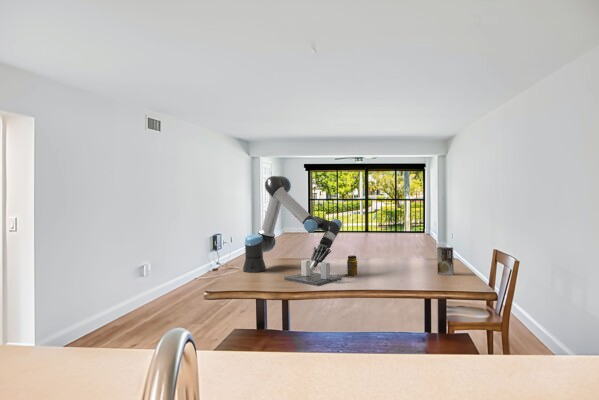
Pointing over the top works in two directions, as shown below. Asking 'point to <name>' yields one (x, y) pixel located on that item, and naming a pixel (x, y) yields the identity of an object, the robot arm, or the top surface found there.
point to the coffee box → (445, 260)
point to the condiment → (351, 266)
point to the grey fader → (325, 270)
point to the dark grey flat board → (312, 279)
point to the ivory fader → (305, 267)
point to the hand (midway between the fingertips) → (310, 270)
